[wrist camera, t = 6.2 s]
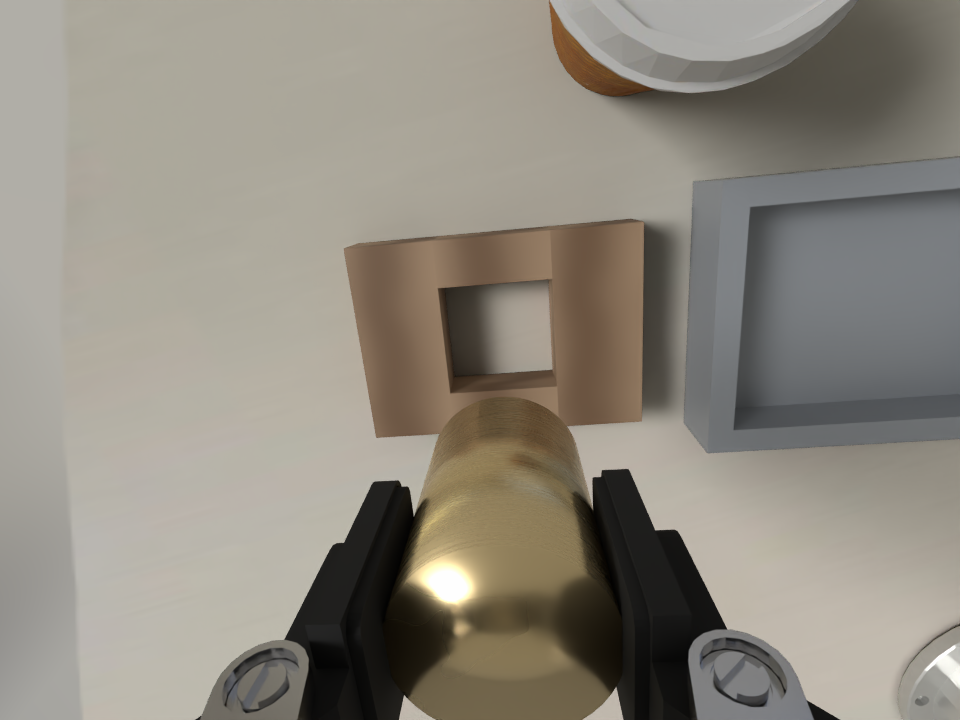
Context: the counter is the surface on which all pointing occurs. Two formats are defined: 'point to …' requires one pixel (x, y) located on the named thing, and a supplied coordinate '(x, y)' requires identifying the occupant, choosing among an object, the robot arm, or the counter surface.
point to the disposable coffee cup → (685, 41)
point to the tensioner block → (489, 260)
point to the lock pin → (504, 576)
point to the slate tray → (825, 308)
